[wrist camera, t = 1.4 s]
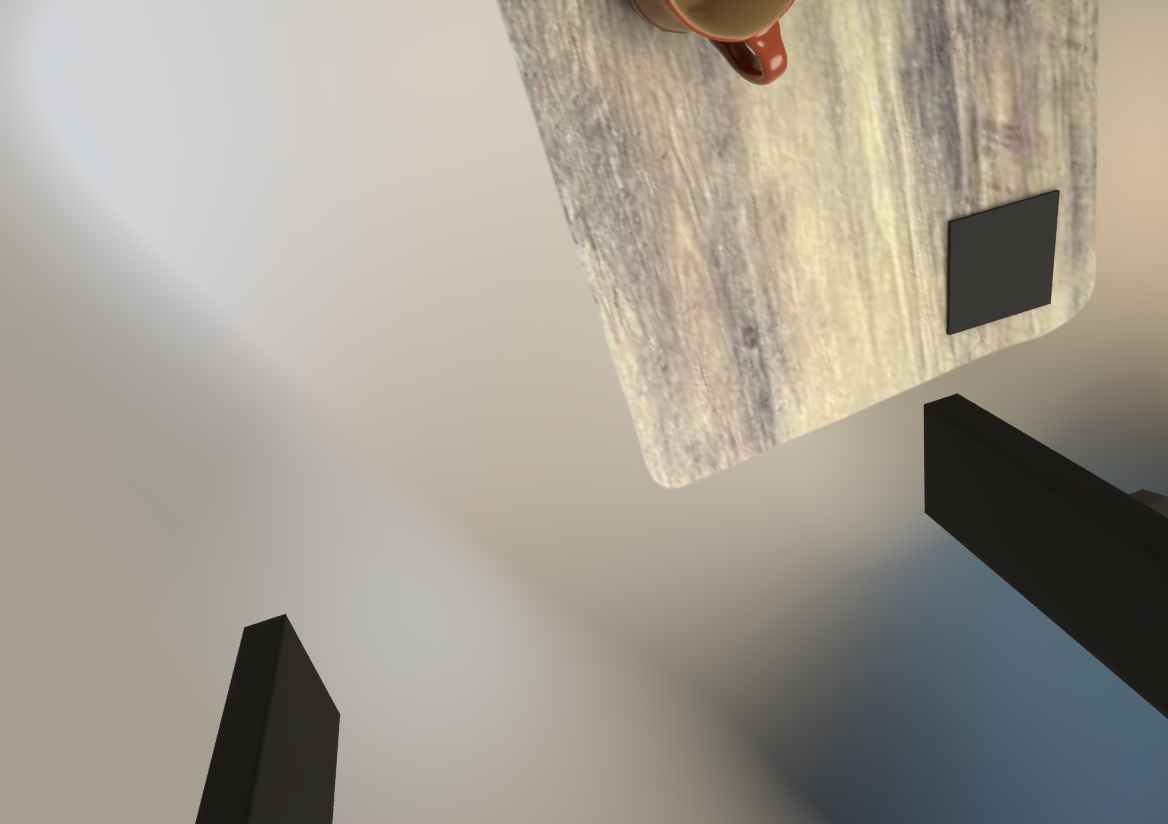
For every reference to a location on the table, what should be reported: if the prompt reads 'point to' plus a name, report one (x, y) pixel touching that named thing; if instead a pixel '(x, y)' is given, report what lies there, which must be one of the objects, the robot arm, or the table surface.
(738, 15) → the mug
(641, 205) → the table surface
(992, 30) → the table surface
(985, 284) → the mat
